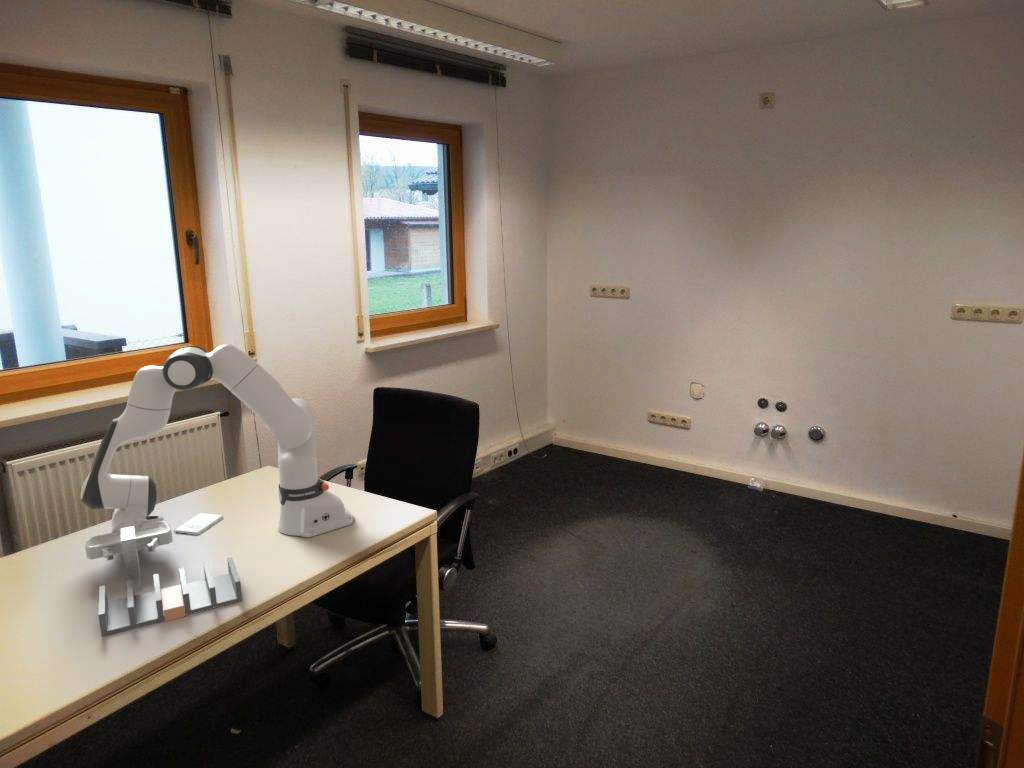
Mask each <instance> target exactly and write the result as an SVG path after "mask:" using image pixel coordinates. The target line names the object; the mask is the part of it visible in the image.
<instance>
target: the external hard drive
mask: <svg viewBox="0 0 1024 768" xmlns="http://www.w3.org/2000/svg"><path fill="white" fill-rule="evenodd" d="M222 519H223V515H222V514H213V513H207V512H206V513H204V512H200V513H198V514H197V515H195V516H194V517H192V518H190V519H189V520H188V521H186V522H185V523H183V524H181V525H180V526H178V527H177V528H176V529H174V530H173V533H174V532H178V533H177V534H181V533H189V534H188V535H190V534H197V535H196V536H199V535H200V534H202V533H203V532H205V531H206V530H208V529H209V528H210V526H211V525H212V526H213V524H214V525H215V524H216V523H218V522H219V521H221V520H222ZM212 526H211V527H212ZM207 528H208V529H207ZM205 529H206V530H205ZM204 530H205V531H204ZM201 532H202V533H201ZM199 533H200V534H199ZM198 534H199V535H198Z"/></svg>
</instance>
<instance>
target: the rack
mask: <svg viewBox="0 0 1024 768" xmlns="http://www.w3.org/2000/svg"><path fill="white" fill-rule="evenodd" d="M226 561H227V568H228V569H227V570H228V573H226V574H221V575H216V576H213V575H212V571H211V568H210V563H209V562H203V563H202V565H203V572H204V574H203V575H204V579H200V580H196V581H191V582H187V578H186V573H185V567H182V568H178V573H179V574H178V575H179V581H180V583H179V584H177V585H172V586H168V587H164V588H161V581H160V573H154V574H152V576H153V586H154V590H153V591H148V592H144V593H139V594H135V590H134V587H133V581H132V579H131V580H127V579H126V595H127V596H126V597H122V598H117V599H114V600H110V601H109V600H108V594H107V593H108V592H107V587H106V585H100V586H99V593H98V594H99V595H98V612H97V613H98V621H99V628H100V634H101V637H104V636H109V635H112V634H117V633H120V632H124V630H125V631H129V630H133V629H137V628H140V626H141V627H144V625H145V626H148V625H152V624H157V623H160V622H170V621H174V620H177V618H178V619H181V617H182V618H185V617H184V616H187V615H186V614H189V615H191V614H190V613H192V614H195V613H194V612H196V613H200V612H203V611H202V610H204V611H207V610H206V609H208V610H211V609H210V608H212V609H214V608H213V607H216V608H218V607H217V606H220V607H222V606H221V605H224V606H227V605H226V604H228V605H231V603H232V604H235V602H236V603H239V602H238V601H240V602H243V594H242V586H241V579H240V577H239V573H238V571H237V567H236V565H235V561H234V559H233V556H231V557H230V556H229V557H227V559H226ZM199 611H200V612H199ZM173 619H174V620H173ZM136 627H137V628H136ZM128 629H129V630H128ZM116 632H117V633H116Z"/></svg>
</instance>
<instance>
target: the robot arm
mask: <svg viewBox="0 0 1024 768" xmlns="http://www.w3.org/2000/svg"><path fill="white" fill-rule="evenodd" d="M210 380H215V381H217V382H218V383H220V384H222V386H224V387H225V388H226V389H227V390H228V391H230V393H231V394H232V395H234V396H235V397H236V398H237V399H238V400H239V401H241V402H242V403H243V404H244V405H245V406H246V407H247V408H248V409H249V410H250V411H251V412H252V413H253V414H254V415H255V416H256V418H257V419H258V420H259V421H260V422H261V424H262V425H263V426H264V427H265V428H266V429H267V430H268V432H270V434H271V435H272V436H273V438H274V440H275V442H276V443H277V455H278V456H277V463H278V464H277V465H278V477H279V479H278V480H279V484H278V499H279V503H280V513H279V521H278V524H277V525H278V526H277V530H278V532H280V533H282V534H284V535H287V536H297V537H302V538H312V537H316V536H318V535H322V534H325V533H328V532H331V531H335V530H337V529H340V528H344V527H348V526H350V525H352V524H353V523H354V515H353V514H352V512H351V511H350V510H349V509H348V508H347V507H345V505H344V503H343V500H342V499H341V498H340V497H339V496H338V495H336V494H334V493H332V492H330V491H328V490H330V486H329V484H328V483H327V482H325V481H324V480H322V479H321V478H320V477H318V467H317V447H316V446H317V445H316V442H317V441H316V439H317V438H316V420H315V419H316V418H315V417H316V416H315V411H314V409H313V406H312V405H311V404H310V403H309V402H308V401H307V400H305V399H303V398H300V397H295V398H293V397H292V398H291V397H290V395H289V394H288V393H286V392H287V391H285V390H284V388H283V387H282V386H281V384H280V382H279V381H278V380H277V379H276V378H275V377H274V376H272V374H270V373H269V372H268V371H267V370H266V369H265V368H264V367H262V365H260V364H259V363H258V362H257V361H256V360H255V359H254V358H252V357H251V356H250V355H249V354H247V353H246V352H244V351H243V350H241V349H240V348H238V347H236V346H235V345H233V344H230V343H226V344H224V343H223V344H221V345H219V346H217V347H216V348H214V349H213V350H212V351H210V352H208V351H207V350H205V348H202V347H199V346H197V345H189V346H184V347H182V348H180V349H177V350H175V351H174V352H173V353H171V354H170V355H169V356H168V357H167V358H166V360H164V363H163V365H162V366H161V365H160V366H158V365H146V366H143V367H141V368H139V369H138V370H137V371H136V373H135V375H134V377H133V381H132V383H131V385H130V388H129V392H128V397H127V401H126V407H125V409H124V411H122V414H120V416H119V417H116V418H114V419H112V420H111V421H110V423H109V424H108V426H107V427H106V429H105V433H104V435H103V438H102V439H101V441H100V444H99V447H98V450H97V451H96V455H95V456H94V460H93V462H92V465H91V468H90V470H89V473H88V475H87V477H86V478H85V480H84V481H83V484H82V486H81V490H80V501H81V502H82V504H83V505H84V506H85V507H87V508H88V509H90V510H95V511H96V510H105V509H110V510H114V511H113V512H112V516H111V517H112V518H111V532H108V533H103V534H99V535H94V536H92V537H90V538H89V539H88V540H87V541H86V542H85V553H86V557H87V559H89V560H97V559H100V558H104V559H106V561H112V560H114V556H115V555H121V554H123V551H122V544H121V529H122V528H127V527H133V526H134V530H135V537H136V544H137V551H140V550H145V549H147V552H148V553H150V552H155V549H156V548H157V547H160V546H164V545H169V544H171V543H172V542H173V534H172V528H171V525H170V524H169V522H167V521H165V517H164V516H163V515H151V514H152V513H153V512H154V510H155V508H156V505H157V495H158V494H157V493H158V492H157V484H156V482H155V481H154V479H153V478H152V477H150V476H149V475H137V474H130V475H129V474H117V473H116V474H114V473H109V472H108V471H109V468H110V465H111V464H112V460H113V458H114V455H115V453H116V451H117V449H118V448H119V447H120V446H121V445H122V444H125V443H128V442H130V441H135V440H138V439H143V438H147V437H151V436H153V435H155V434H157V433H159V432H161V431H162V430H163V429H164V428H165V427H166V426H167V424H168V421H169V418H170V415H171V412H172V411H171V410H172V406H173V405H172V403H173V399H174V394H175V392H176V390H180V391H189V390H192V389H195V388H197V387H199V386H201V385H203V384H205V383H207V382H209V381H210Z"/></svg>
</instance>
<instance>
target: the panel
mask: <svg viewBox="0 0 1024 768" xmlns="http://www.w3.org/2000/svg"><path fill="white" fill-rule="evenodd" d="M121 544H122V551H123V553H122V555H123V556H122V558H123V562H124V571H125V576H126V577H125V578H126V581H127V580H131V579H132V581H133V587H134V591H135V589H136V590H140V589H142V586H143V585H142V573H141V567H140V561H139V553H138V551H139V550H137V544H136V537H135V530H134V526H133V527H127V528H122V529H121Z"/></svg>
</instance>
